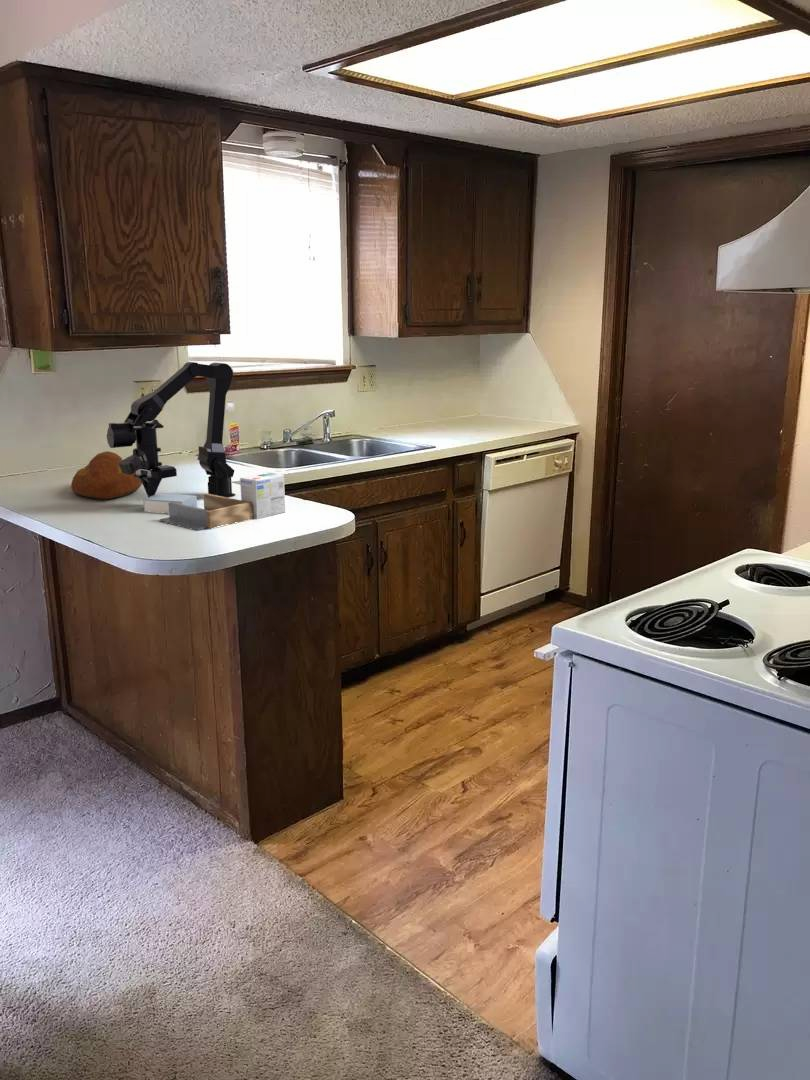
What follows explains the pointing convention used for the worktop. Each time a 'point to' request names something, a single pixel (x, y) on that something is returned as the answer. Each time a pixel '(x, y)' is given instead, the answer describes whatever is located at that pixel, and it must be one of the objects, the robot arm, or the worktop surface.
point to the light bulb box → (264, 493)
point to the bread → (104, 478)
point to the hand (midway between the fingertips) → (151, 498)
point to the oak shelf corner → (226, 510)
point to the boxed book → (161, 502)
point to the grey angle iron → (187, 516)
